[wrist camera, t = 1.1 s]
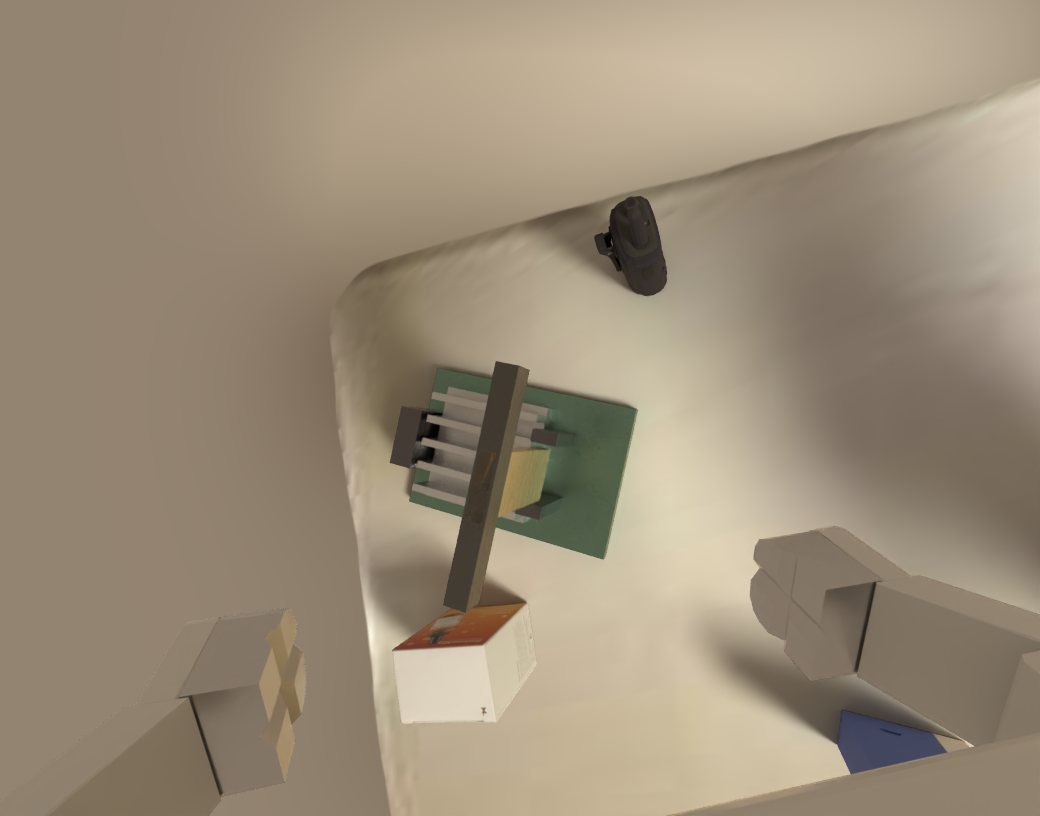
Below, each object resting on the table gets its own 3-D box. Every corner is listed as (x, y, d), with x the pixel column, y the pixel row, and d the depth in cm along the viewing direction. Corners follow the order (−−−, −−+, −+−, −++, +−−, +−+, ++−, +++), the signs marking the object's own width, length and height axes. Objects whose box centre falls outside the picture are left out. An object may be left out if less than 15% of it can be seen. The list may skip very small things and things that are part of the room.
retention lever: (567, 385, 41) (519, 365, 30) (528, 564, 41) (465, 613, 30) (549, 382, 42) (495, 361, 30) (511, 559, 42) (443, 605, 30)
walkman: (836, 745, 41) (892, 865, 29) (841, 708, 41) (898, 813, 29) (961, 780, 38) (1074, 925, 27) (966, 741, 38) (1081, 869, 27)
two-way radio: (672, 293, 46) (663, 228, 32) (622, 309, 47) (591, 254, 33) (655, 233, 47) (639, 144, 33) (606, 251, 48) (569, 172, 34)
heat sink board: (637, 409, 47) (626, 404, 39) (605, 556, 47) (588, 580, 39) (443, 369, 52) (399, 357, 45) (415, 499, 53) (367, 510, 45)
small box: (528, 601, 49) (486, 643, 39) (538, 665, 48) (498, 724, 38) (448, 607, 51) (389, 648, 41) (457, 668, 50) (399, 725, 40)
